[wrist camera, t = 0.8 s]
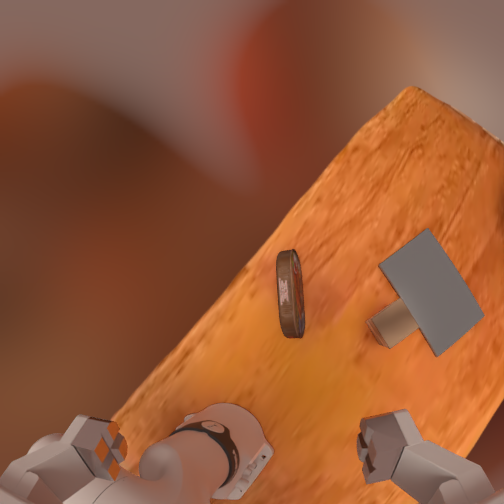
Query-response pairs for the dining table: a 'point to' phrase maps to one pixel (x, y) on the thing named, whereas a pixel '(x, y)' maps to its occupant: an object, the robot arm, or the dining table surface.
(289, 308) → the tin
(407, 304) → the slate board
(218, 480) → the robot arm
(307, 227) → the dining table surface
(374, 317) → the birch block
